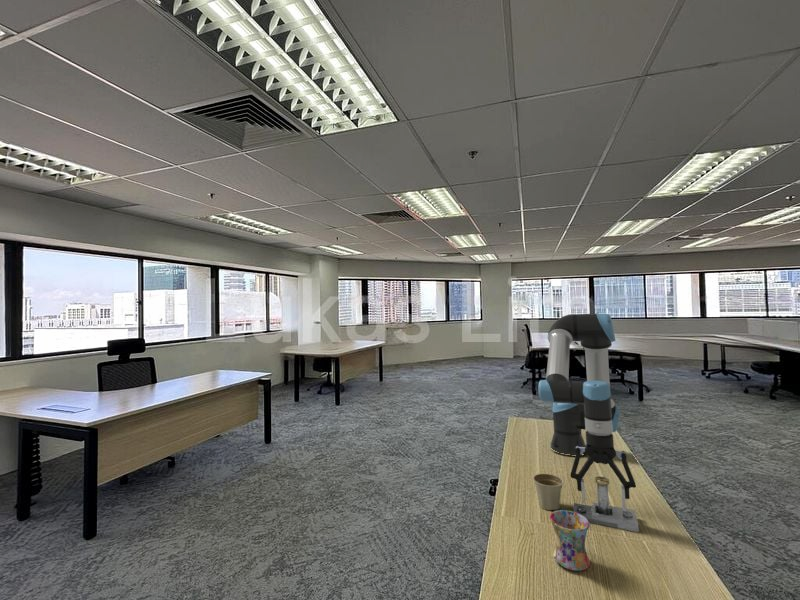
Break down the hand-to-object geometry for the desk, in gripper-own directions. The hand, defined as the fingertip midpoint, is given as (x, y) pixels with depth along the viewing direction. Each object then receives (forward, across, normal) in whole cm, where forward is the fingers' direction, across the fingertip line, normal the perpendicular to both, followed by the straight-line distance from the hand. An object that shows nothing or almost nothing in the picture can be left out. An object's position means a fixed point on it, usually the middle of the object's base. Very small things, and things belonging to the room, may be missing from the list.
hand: (603, 505), depth 112 cm
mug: (+4, -8, -24) cm, 26 cm away
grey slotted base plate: (+4, 0, 0) cm, 4 cm away
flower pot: (+4, -16, +1) cm, 16 cm away
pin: (+4, 0, 0) cm, 4 cm away
